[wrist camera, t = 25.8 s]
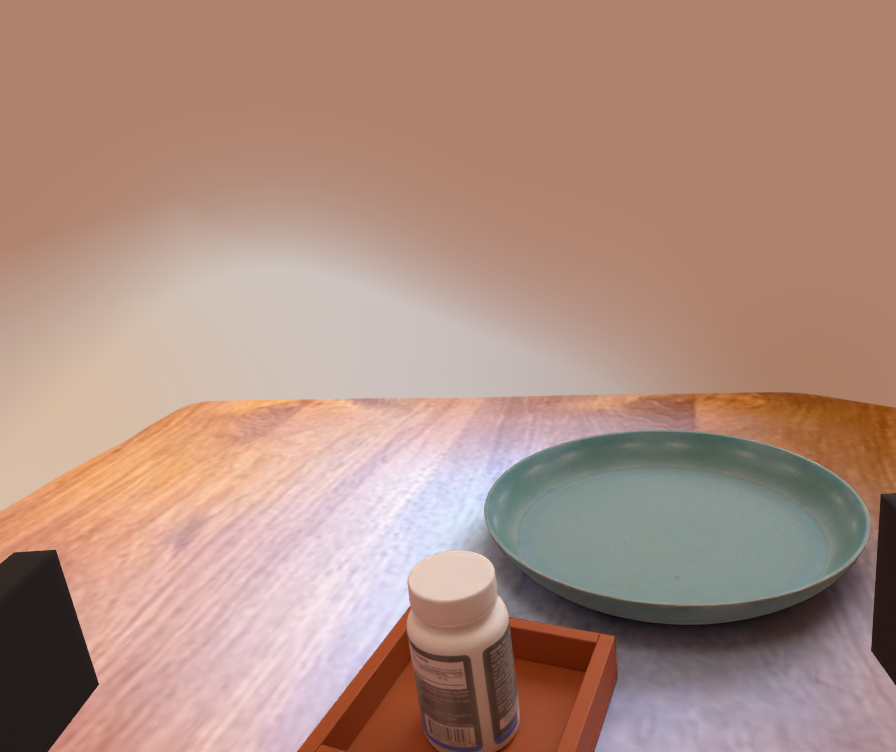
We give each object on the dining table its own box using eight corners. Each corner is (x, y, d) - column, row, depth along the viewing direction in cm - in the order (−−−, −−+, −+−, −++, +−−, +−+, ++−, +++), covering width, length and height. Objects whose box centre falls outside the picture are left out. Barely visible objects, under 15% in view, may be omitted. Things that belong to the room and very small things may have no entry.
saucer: (942, 663, 36) (948, 606, 35) (464, 653, 41) (458, 602, 40) (804, 458, 59) (805, 420, 58) (506, 468, 64) (503, 432, 63)
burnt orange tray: (617, 677, 38) (615, 635, 37) (553, 880, 28) (548, 829, 27) (419, 637, 43) (414, 599, 42) (305, 798, 33) (295, 752, 32)
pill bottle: (493, 676, 38) (476, 534, 36) (538, 737, 34) (523, 581, 31) (408, 710, 36) (385, 564, 34) (445, 779, 32) (421, 618, 30)
